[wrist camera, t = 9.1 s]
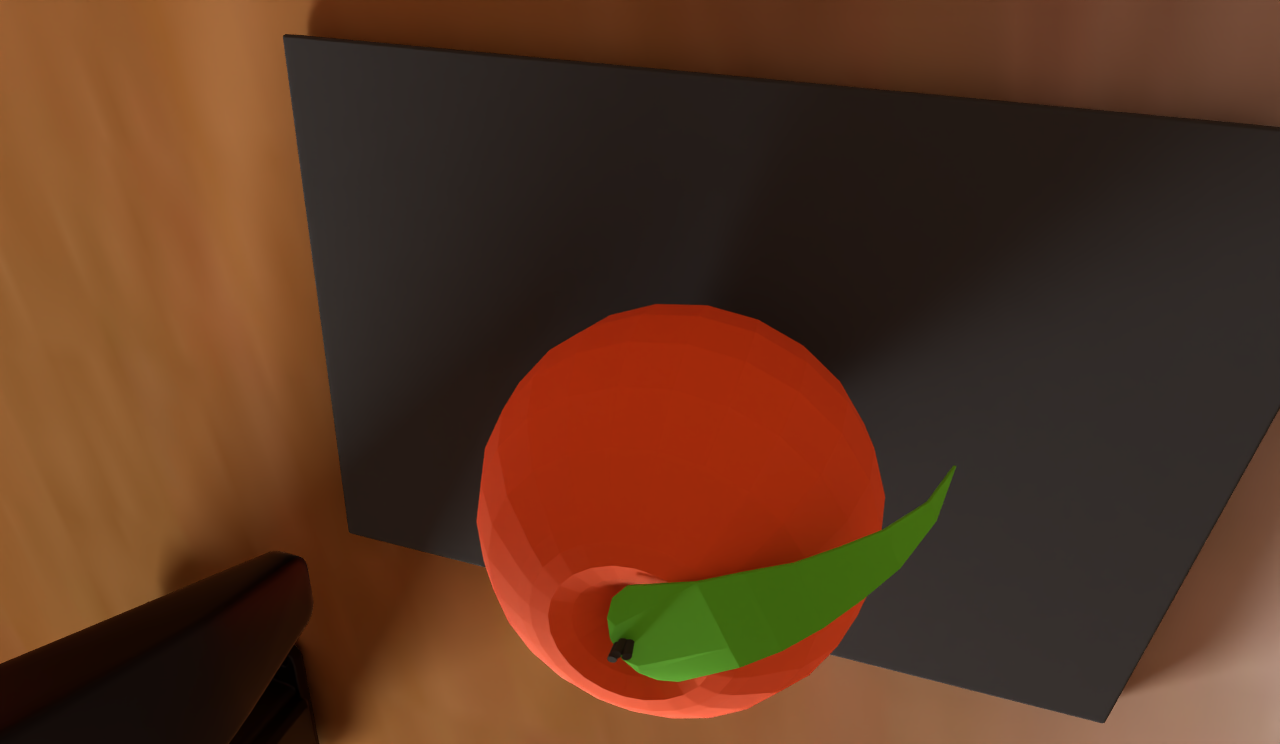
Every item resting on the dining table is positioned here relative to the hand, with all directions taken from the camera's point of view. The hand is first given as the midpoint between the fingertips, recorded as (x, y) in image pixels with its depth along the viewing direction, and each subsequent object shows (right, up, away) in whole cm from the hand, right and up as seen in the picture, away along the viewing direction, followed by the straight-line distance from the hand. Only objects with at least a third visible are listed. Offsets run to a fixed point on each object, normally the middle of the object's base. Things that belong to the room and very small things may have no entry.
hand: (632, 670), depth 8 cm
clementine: (+2, +3, +7) cm, 8 cm away
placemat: (+2, +3, +7) cm, 8 cm away
